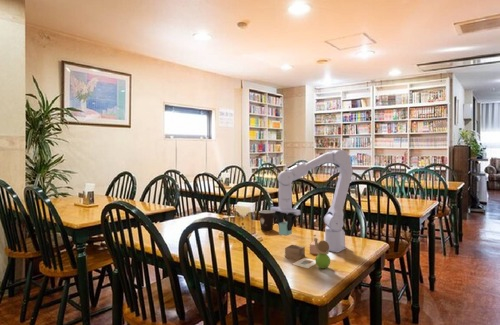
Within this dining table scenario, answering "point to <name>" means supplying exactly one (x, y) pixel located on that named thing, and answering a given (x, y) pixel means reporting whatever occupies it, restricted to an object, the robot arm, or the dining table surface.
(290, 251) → the walnut base brick
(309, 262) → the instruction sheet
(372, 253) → the dining table surface
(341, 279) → the dining table surface
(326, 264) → the snail figurine
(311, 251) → the terracotta brick
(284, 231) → the teal brick
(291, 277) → the dining table surface
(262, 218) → the coffee mug
